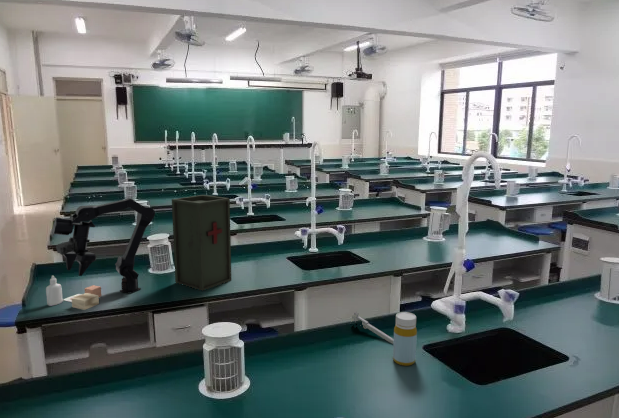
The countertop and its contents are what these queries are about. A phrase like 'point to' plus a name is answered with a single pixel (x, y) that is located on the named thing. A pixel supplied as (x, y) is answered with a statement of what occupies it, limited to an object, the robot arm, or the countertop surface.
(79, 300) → the beech base block
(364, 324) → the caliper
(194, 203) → the first aid box
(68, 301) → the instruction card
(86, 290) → the terracotta brick
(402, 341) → the bottle
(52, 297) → the eye dropper bottle
